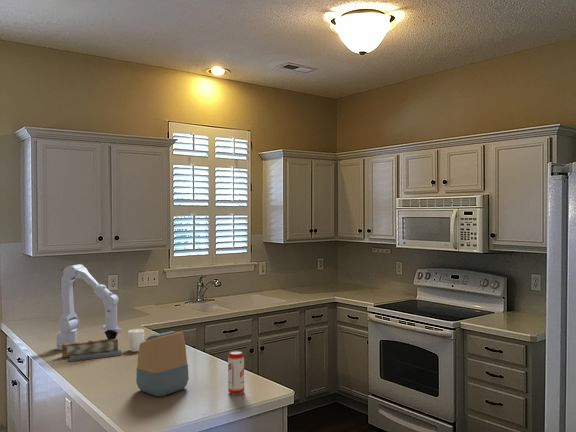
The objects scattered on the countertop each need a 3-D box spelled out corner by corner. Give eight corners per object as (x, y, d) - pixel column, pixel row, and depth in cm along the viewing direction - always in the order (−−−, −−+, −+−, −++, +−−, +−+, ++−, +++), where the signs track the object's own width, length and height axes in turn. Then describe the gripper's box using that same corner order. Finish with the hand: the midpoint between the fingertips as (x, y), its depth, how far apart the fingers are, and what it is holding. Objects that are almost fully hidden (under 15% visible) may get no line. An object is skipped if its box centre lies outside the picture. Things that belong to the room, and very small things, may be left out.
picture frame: (62, 357, 256) (62, 344, 256) (62, 356, 259) (62, 342, 259) (118, 351, 266) (117, 338, 266) (117, 349, 269) (117, 337, 269)
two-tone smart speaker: (166, 380, 222) (166, 325, 222) (192, 388, 212) (191, 331, 211) (132, 391, 209) (131, 333, 209) (158, 400, 199) (157, 339, 198)
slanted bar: (69, 361, 251) (69, 357, 251) (69, 359, 253) (69, 355, 253) (121, 355, 261) (121, 351, 261) (121, 353, 263) (120, 349, 263)
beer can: (244, 390, 209) (244, 350, 209) (243, 395, 203) (243, 354, 203) (229, 390, 209) (228, 350, 209) (227, 395, 203) (227, 354, 203)
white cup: (147, 348, 273) (147, 329, 273) (139, 352, 265) (138, 332, 265) (134, 347, 275) (133, 328, 275) (125, 351, 267) (125, 332, 267)
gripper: (96, 317, 271) (97, 343, 272) (112, 321, 262) (112, 348, 262) (109, 315, 277) (109, 341, 277) (124, 319, 267) (124, 345, 268)
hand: (111, 344), depth 270 cm, fingers closed
